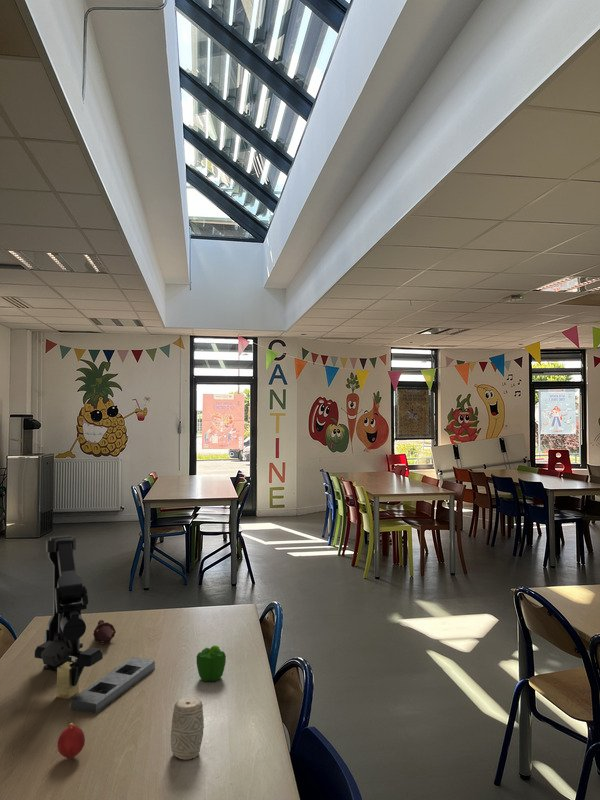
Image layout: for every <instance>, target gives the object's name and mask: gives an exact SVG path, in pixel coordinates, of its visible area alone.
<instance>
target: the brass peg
mask: <svg viewBox="0 0 600 800" xmlns="http://www.w3.org/2000/svg"><path fill="white" fill-rule="evenodd" d="M70 664H72V662H66V663H64V664H62V665H61V666H59V667H57V675H56V698H61V699H66V700H71V699H72V698H73V697H75V696H76V695H78V694H79V690H80V689H79V688H80V687H79V685H80V683H79V681H80V680H78V682H77V684H76V685H75V686H72V668H71V667H70V666H69V665H70Z"/></svg>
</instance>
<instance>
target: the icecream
mask: <svg viewBox="0 0 600 800" xmlns="http://www.w3.org/2000/svg"><path fill="white" fill-rule="evenodd" d="M116 633H117V631H116V629H115V627H114V625H113V624H111V623H109V622H105V620H103V619H100V620H98V622H97V625H96V627H95V628H94V630H93V633H92V634H93V639H94V641H95V642H96V643H98V644H101V643H104V644H107V643H106V642H108V643H110V642H111V641H112V639H113V638H114V637H115V635H116Z"/></svg>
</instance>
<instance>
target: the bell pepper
mask: <svg viewBox="0 0 600 800" xmlns="http://www.w3.org/2000/svg"><path fill="white" fill-rule="evenodd" d="M226 659H227V656H226V653H225V651H221V649H220V646H218V645H213V646H210V648H209V647H205V648H203V649H202V651H200V652H198V653H197V655H196V667H197V671H198V676H199V678H200V679H201V680H202V682H210V681H211V682H212V681H213V682H217V681H219V680H220V679H221V678H222V677H223V674H224V671H225V666H226Z"/></svg>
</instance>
